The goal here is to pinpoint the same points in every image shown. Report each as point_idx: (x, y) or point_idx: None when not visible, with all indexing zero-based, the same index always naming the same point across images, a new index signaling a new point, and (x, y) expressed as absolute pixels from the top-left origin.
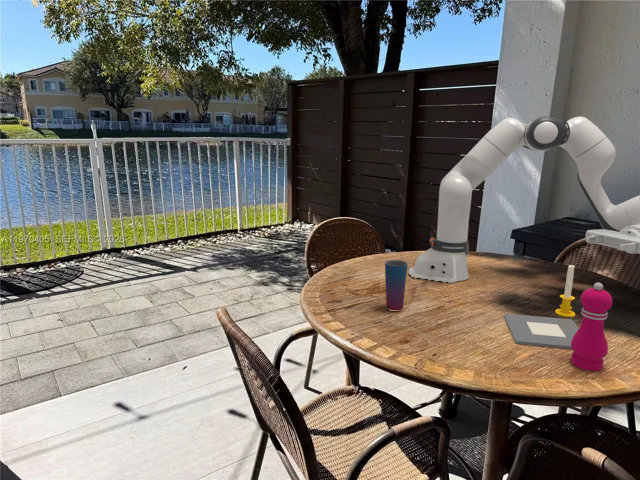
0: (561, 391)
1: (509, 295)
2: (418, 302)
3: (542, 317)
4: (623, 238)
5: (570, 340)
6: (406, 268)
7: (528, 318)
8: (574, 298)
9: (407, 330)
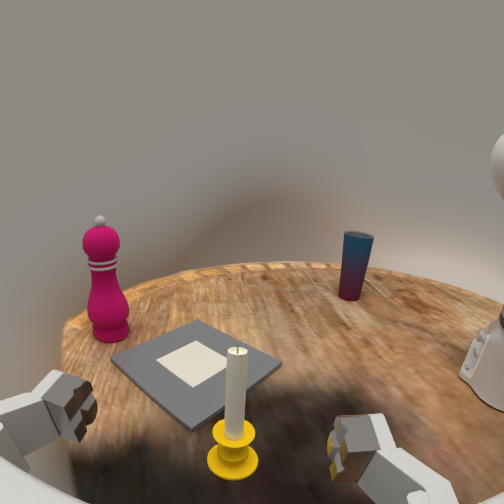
0: None
1: None
2: (367, 316)
3: None
4: (51, 488)
5: (146, 357)
6: (349, 240)
7: None
8: (214, 436)
9: (286, 285)
